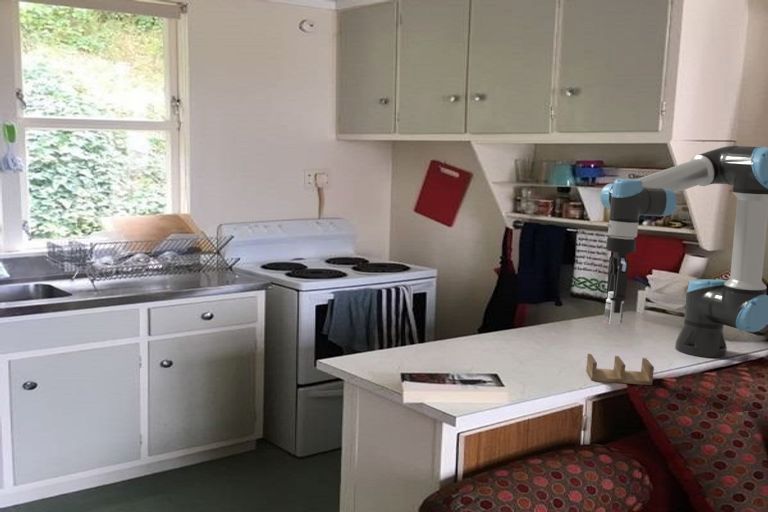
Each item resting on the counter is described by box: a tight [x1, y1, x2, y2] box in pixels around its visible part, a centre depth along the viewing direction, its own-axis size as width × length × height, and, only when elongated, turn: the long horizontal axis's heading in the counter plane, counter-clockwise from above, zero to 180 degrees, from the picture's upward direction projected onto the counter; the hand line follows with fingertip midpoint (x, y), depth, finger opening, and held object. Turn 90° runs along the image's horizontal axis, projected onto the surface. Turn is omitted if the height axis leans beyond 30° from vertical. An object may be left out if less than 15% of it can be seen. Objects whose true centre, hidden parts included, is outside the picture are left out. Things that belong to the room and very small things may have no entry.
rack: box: [585, 353, 655, 386], centre depth 222 cm, size 16×9×5 cm, turn 85°
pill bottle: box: [603, 291, 625, 325], centre depth 220 cm, size 5×5×8 cm
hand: (612, 321), depth 220 cm, fingers closed on pill bottle, 5 cm apart
